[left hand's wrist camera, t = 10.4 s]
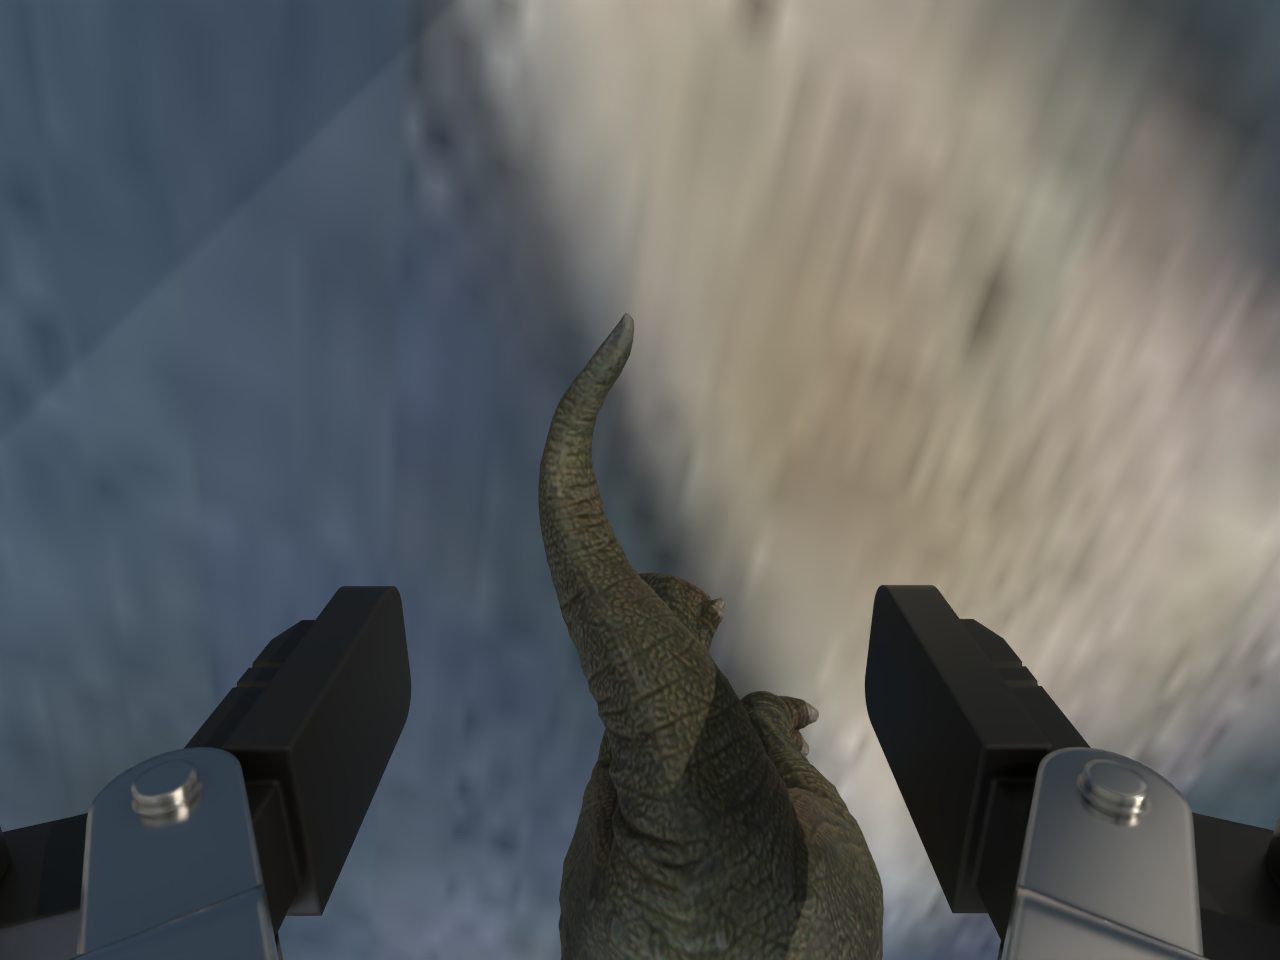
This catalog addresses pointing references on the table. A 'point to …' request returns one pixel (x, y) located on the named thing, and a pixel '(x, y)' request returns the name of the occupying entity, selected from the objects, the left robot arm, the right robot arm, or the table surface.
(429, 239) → the table surface
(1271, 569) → the table surface
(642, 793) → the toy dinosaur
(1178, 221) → the table surface
